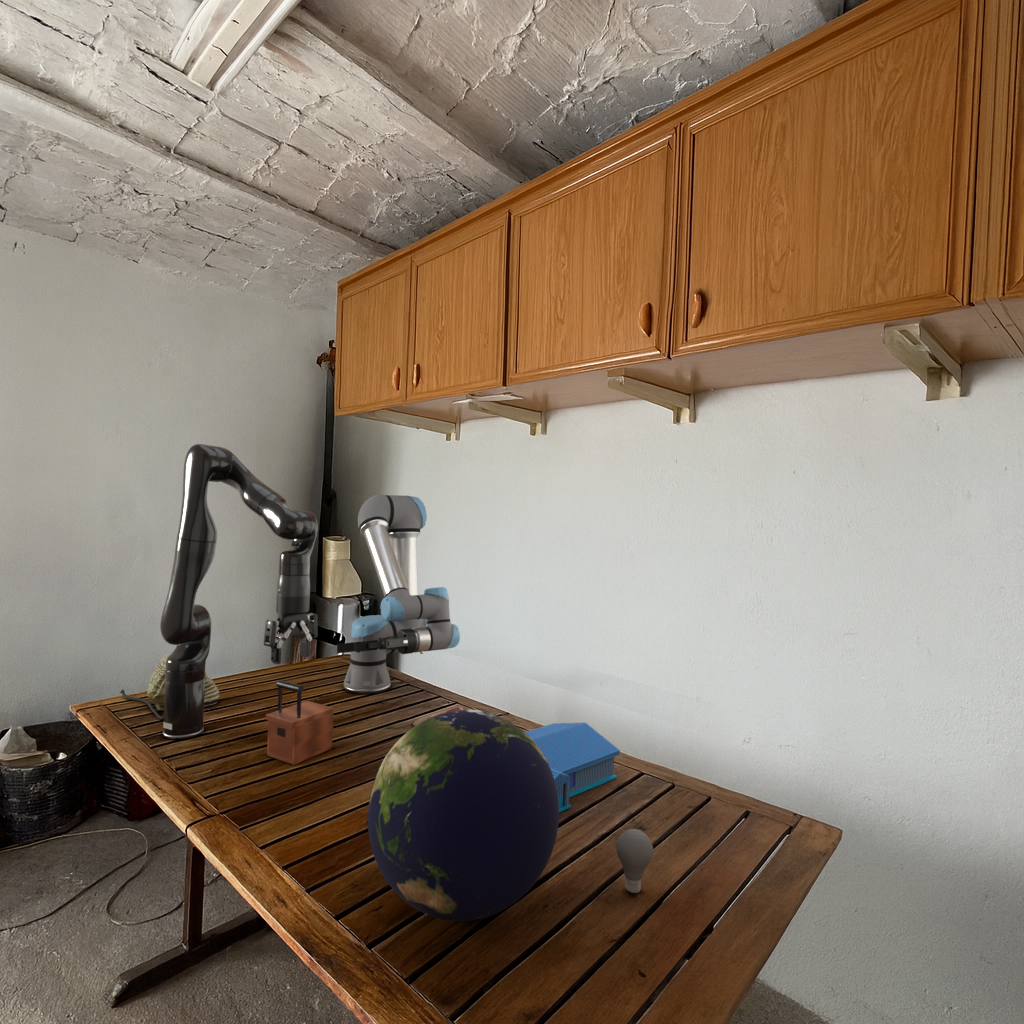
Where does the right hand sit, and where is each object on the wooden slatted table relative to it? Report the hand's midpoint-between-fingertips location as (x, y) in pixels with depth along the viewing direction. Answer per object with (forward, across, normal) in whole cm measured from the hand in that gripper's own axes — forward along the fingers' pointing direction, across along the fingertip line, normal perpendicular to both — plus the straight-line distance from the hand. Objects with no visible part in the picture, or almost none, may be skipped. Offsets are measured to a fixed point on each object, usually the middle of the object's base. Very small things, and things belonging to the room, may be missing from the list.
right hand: (345, 648), depth 182 cm
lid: (+19, -16, -15) cm, 28 cm away
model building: (-19, -56, -34) cm, 69 cm away
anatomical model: (-21, -13, -24) cm, 34 cm away
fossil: (+37, +34, -12) cm, 52 cm away
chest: (+18, -13, -24) cm, 33 cm away
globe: (+16, -82, -41) cm, 93 cm away
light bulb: (-10, -94, -44) cm, 105 cm away
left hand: (+22, -20, -1) cm, 30 cm away
